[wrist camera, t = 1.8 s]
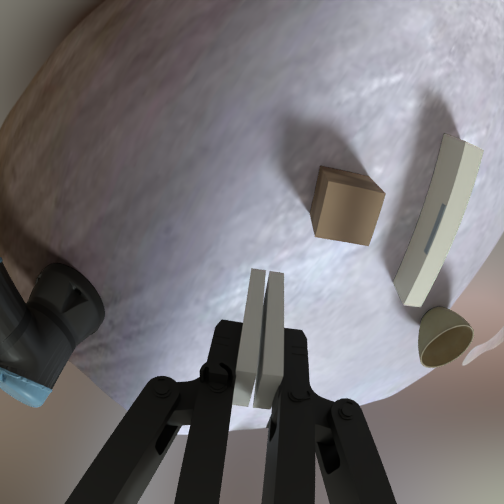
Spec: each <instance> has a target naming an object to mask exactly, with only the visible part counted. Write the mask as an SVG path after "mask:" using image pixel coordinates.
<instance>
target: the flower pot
mask: <svg viewBox="0 0 504 504" xmlns="http://www.w3.org/2000/svg"><path fill="white" fill-rule="evenodd" d="M473 336H474V331H473V329H472V327H471V326H470V325H469V323H468V322H467V321H466V320H465V319H464V318H462V317H461V316H460V315H458V314H457V313H455V312H454V311H452V310H449V309H447V308H443V307H436V308H433V309H431V310H430V311H428V312H427V313H426V314H425V315H424V316H423V318H422V320H421V324H420V329H419V337H418V349H419V357H420V361H421V364H422V365H423V366H425V367H428V368H435V367H440V366H443V365H446V364H448V363H450V362H452V361H453V360H455V359H456V358H458V357H459V356H460V355H462V354H463V353H464V352H465V351H466V349H467V348H468V347H469V345H470V344H471V342H472V340H473Z"/></svg>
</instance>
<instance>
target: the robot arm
mask: <svg viewBox="0 0 504 504" xmlns="http://www.w3.org/2000/svg"><path fill="white" fill-rule="evenodd" d="M2 261H3V260H2V258H1V257H0V388H1V389H2V390H3V391H5V392H6V393H8V394H9V395H10V396H12V397H14V398H15V399H17V400H18V401H20V402H22V403H24V404H26V405H29V406H31V407H40V406H41V405H42V404H43V403H44V401H45V400H46V398H47V397H48V395H49V394H50V393H51V392H52V388H53V386H54V384H55V383H56V381H57V379H58V377H59V375H60V374H61V372H62V370H63V368H64V366H65V365H66V363H67V361H68V359H69V358H70V356H71V354H72V353H73V351H74V349H75V348H76V346H77V345H78V344H80V343H81V342H82V341H83V340H85V339H86V338H87V337H88V336H89V335H91V334H93V333H95V332H96V331H97V330H98V328H99V327H100V325H101V324H102V322H103V320H104V316H105V311H104V306H103V303H102V300H101V298H100V296H99V295H98V293H97V291H96V290H95V289H94V287H93V286H92V285H91V284H90V283H89V282H88V280H87V279H85V278H84V277H83V276H82V275H81V274H80V273H78V272H77V271H75V270H74V269H72V268H70V267H68V266H66V265H63V264H50V265H48V266H47V267H46V268H45V269H44V270H43V271H42V272H41V273H40V274H39V276H38V277H37V280H36V285H35V286H34V288H33V290H32V292H31V295H30V297H29V300H28V302H27V303H25V302H24V300H23V298H22V297H21V295H20V293H19V292H18V290H17V288H16V287H15V285H14V283H13V281H12V279H11V278H10V276H9V274H8V272H7V270H6V268H5V266H4V264H3V262H2ZM265 273H266V270H259V269H253V268H251V275H250V282H249V288H248V295H247V301H246V308H245V314H244V320H243V323H241V322H235V321H228V320H221V321H220V322H219V323H218V324H217V326H216V327H215V331H214V335H213V339H212V343H211V347H210V351H209V355H208V359H207V362H206V363H205V364H204V365H202V367H201V369H200V377H199V378H197V379H195V380H193V381H188V382H176V381H175V380H173V379H172V378H170V377H166V376H157V377H155V378H152V379H151V380H150V381H149V382H148V383H147V384H146V386H145V387H144V389H143V390H142V391H141V393H140V394H139V396H138V397H137V399H136V400H135V401H134V403H133V404H132V406H131V407H130V409H129V410H128V412H127V413H126V414H125V416H124V417H123V419H122V420H121V422H120V423H119V425H118V426H117V427H116V429H115V430H114V432H113V433H112V435H111V436H110V438H109V439H108V440H107V442H106V443H105V445H104V446H103V448H102V449H101V451H100V452H99V454H98V455H97V457H96V458H95V459H94V461H93V462H92V464H91V466H90V467H89V468H88V470H87V471H86V473H85V474H84V476H83V477H82V479H81V480H80V481H79V483H78V485H77V486H76V488H75V489H74V490H73V492H72V493H71V495H70V496H69V498H68V499H67V501H66V502H65V504H137V503H138V501H139V499H140V498H141V496H142V494H143V493H144V491H145V489H146V487H147V486H148V484H149V482H150V481H151V479H152V477H153V475H154V474H155V472H156V470H157V468H158V467H159V465H160V463H161V461H162V460H163V458H164V456H165V454H166V453H167V451H168V449H169V447H170V446H171V444H172V442H173V440H174V439H175V436H176V435H177V433H178V431H179V430H180V428H181V426H182V425H190V429H189V434H188V439H187V444H186V448H185V453H184V458H183V463H182V467H181V472H180V477H179V482H178V487H177V493H176V497H175V502H174V504H219V498H220V491H221V483H222V476H223V468H224V461H225V454H226V446H227V439H228V431H229V424H230V416H231V409H232V405H238V406H245V407H248V405H249V401H250V398H251V394H252V390H253V386H254V382H255V378H256V382H255V393H254V403H253V408H262V409H271V407H272V414H271V417H270V419H269V421H268V424H267V427H266V428H269V430H268V441H267V452H266V464H265V474H264V484H263V494H262V503H261V504H315V503H314V502H315V452H316V456H317V459H318V463H319V467H320V470H321V474H322V477H323V481H324V485H325V488H326V492H327V495H328V499H329V503H330V504H397V503H396V501H395V497H394V495H393V492H392V489H391V486H390V483H389V481H388V478H387V475H386V472H385V470H384V467H383V464H382V461H381V459H380V456H379V454H378V451H377V448H376V445H375V443H374V440H373V437H372V435H371V432H370V430H369V427H368V425H367V422H366V420H365V417H364V415H363V412H362V410H361V408H360V406H359V404H358V403H356V402H355V401H354V400H351V399H348V398H347V399H340V400H337V401H336V402H333V401H330V400H327V399H325V398H322V397H320V396H318V395H317V394H316V393H315V392H314V391H313V390H312V388H311V386H310V382H309V364H308V349H307V338H306V336H305V334H304V333H303V331H302V330H297V329H289V328H284V273H280V272H273V271H270V272H269V277H268V282H267V288H266V293H265V298H264V286H265ZM263 298H264V303H263Z"/></svg>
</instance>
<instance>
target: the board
mask: <svg viewBox="0 0 504 504" xmlns="http://www.w3.org/2000/svg"><path fill="white" fill-rule="evenodd" d="M483 151H484V150H482V149H480V148H478V147H476V146H474V145H472V144H470V143H468V142H466V141H463V140H461V139H458V138H456V137H453V136H450V135H448V134H445V133H444V135H443V139H442V143H441V147H440V151H439V155H438V159H437V163H436V166H435V170H434V173H433V177H432V180H431V183H430V187H429V190H428V193H427V196H426V199H425V202H424V205H423V208H422V211H421V214H420V217H419V220H418V222H417V225H416V228H415V231H414V233H413V236H412V238H411V241H410V244H409V246H408V249H407V251H406V253H405V256H404V258H403V261H402V263H401V265H400V268H399V270H398V272H397V275H396V277H395V279H394V281H393V284H394V286H395V288H396V290H397V292H398V295H399V297H400V299H401V301H402V303H403V305H406V306H416V307H421V306H422V304H423V302H424V300H425V299H426V297H427V295H428V293H429V291H430V289H431V287H432V285H433V283H434V281H435V279H436V277H437V275H438V273H439V271H440V269H441V267H442V265H443V263H444V261H445V258H446V256H447V254H448V252H449V250H450V247H451V245H452V243H453V240H454V238H455V236H456V233H457V231H458V228H459V226H460V223H461V220H462V218H463V215H464V212H465V210H466V207H467V204H468V201H469V198H470V195H471V192H472V189H473V186H474V183H475V180H476V177H477V173H478V170H479V166H480V163H481V159H482V155H483Z"/></svg>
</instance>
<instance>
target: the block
mask: <svg viewBox="0 0 504 504" xmlns="http://www.w3.org/2000/svg"><path fill="white" fill-rule="evenodd" d="M384 198H385V193H384V191H383V190H382V189H381V188H380V187H379V186H378V185H377V184H376V183H375V182H374V181H373V180H372V179H371V178H370V177H369V176H365V175H361V174H356V173H352V172H348V171H343V170H338V169H334V168H329V167H324V166H320V169H319V174H318V178H317V183H316V188H315V192H314V197H313V201H312V206H311V210H310V217H311V221H312V226H313V230H314V234H315V237H318V238H324V239H330V240H336V241H342V242H348V243H354V244H360V245H365V246H369V244H370V241H371V238H372V235H373V232H374V229H375V226H376V223H377V220H378V217H379V214H380V211H381V207H382V204H383V201H384Z"/></svg>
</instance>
